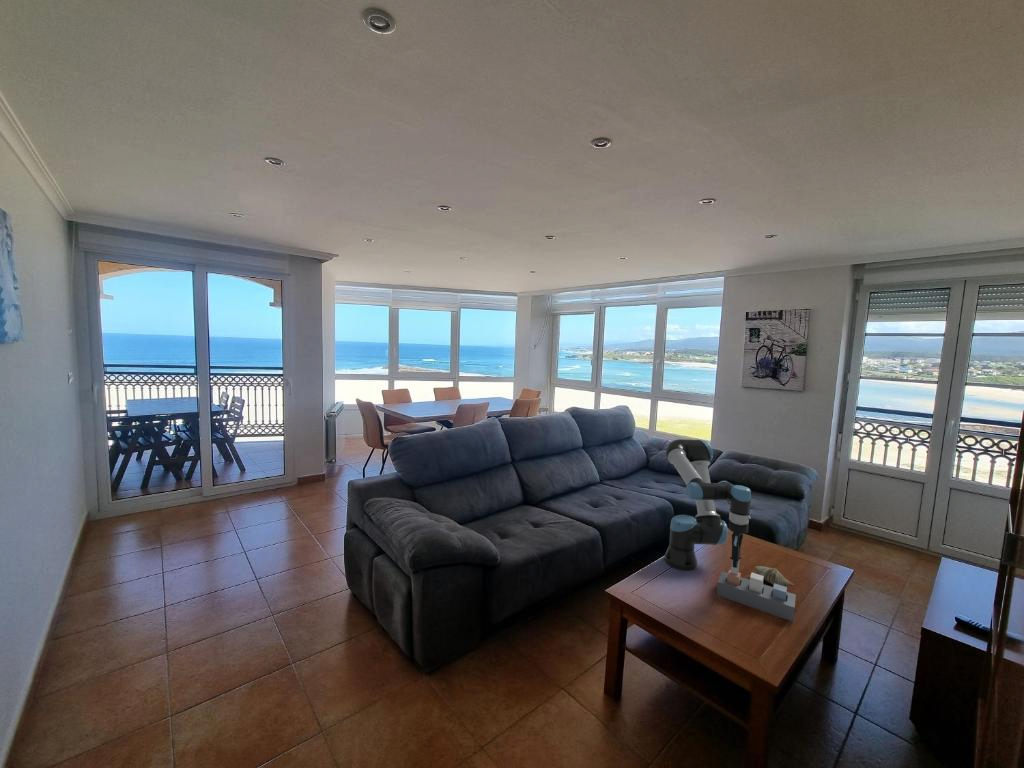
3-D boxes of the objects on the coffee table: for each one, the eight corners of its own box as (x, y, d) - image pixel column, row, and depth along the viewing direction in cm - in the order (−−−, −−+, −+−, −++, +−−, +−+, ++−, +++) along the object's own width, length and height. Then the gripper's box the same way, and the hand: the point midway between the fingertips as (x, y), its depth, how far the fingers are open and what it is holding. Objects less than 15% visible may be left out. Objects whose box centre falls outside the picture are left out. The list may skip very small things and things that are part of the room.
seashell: (796, 578, 186) (781, 562, 185) (791, 596, 181) (776, 580, 181) (767, 576, 198) (753, 562, 198) (762, 593, 193) (747, 578, 193)
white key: (748, 592, 176) (750, 577, 175) (750, 587, 180) (751, 572, 179) (761, 596, 173) (762, 580, 172) (762, 591, 177) (763, 576, 176)
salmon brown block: (726, 588, 181) (727, 573, 180) (728, 584, 185) (729, 569, 184) (738, 592, 178) (739, 577, 178) (739, 587, 182) (741, 573, 181)
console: (716, 594, 181) (717, 582, 180) (721, 583, 189) (722, 571, 189) (793, 621, 164) (794, 607, 164) (794, 607, 173) (795, 594, 172)
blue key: (771, 604, 171) (773, 588, 170) (772, 598, 175) (774, 583, 174) (784, 608, 168) (786, 592, 168) (785, 603, 172) (787, 587, 171)
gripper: (746, 529, 171) (742, 582, 173) (750, 519, 181) (746, 569, 184) (726, 524, 175) (722, 576, 178) (731, 514, 186) (727, 564, 188)
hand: (734, 573), depth 181 cm, fingers closed
